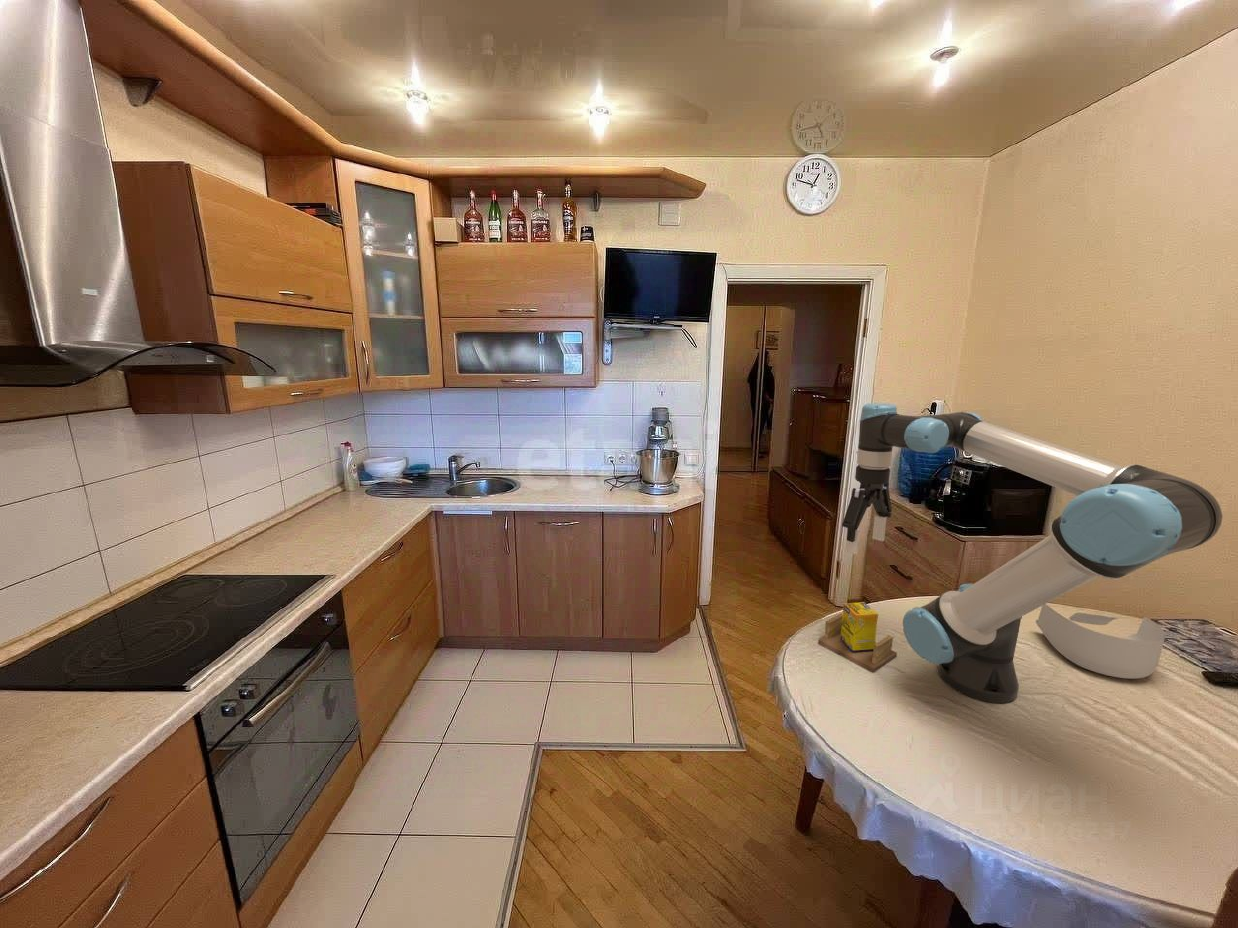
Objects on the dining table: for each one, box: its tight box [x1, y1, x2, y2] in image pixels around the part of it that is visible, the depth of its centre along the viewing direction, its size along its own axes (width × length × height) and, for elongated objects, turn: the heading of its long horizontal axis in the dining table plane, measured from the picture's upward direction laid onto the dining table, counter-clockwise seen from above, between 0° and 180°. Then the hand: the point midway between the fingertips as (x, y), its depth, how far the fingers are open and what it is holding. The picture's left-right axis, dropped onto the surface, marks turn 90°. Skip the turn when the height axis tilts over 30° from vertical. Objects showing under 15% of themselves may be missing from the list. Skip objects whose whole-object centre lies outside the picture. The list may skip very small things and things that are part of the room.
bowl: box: [1035, 603, 1166, 680], centre depth 118 cm, size 20×19×12 cm
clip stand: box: [817, 613, 898, 674], centre depth 124 cm, size 15×11×6 cm
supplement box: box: [840, 601, 879, 653], centre depth 124 cm, size 6×6×11 cm
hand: (865, 546), depth 123 cm, fingers open, 13 cm apart
